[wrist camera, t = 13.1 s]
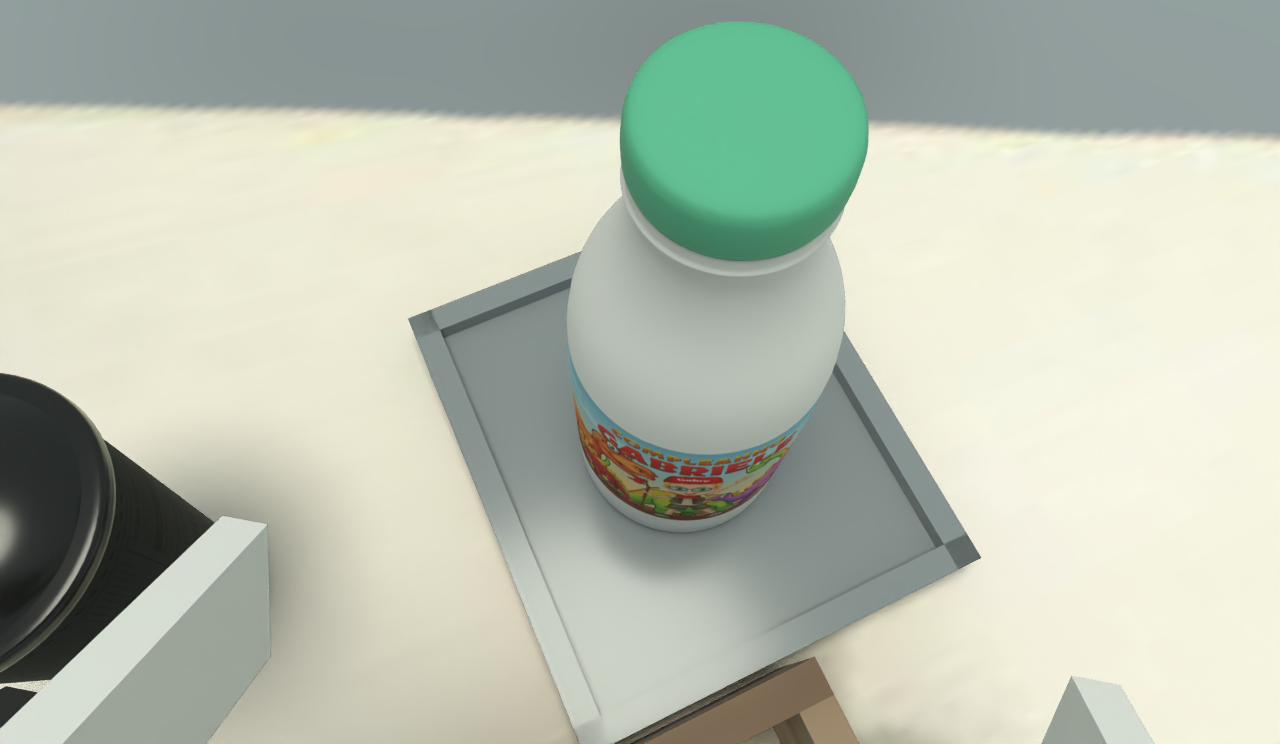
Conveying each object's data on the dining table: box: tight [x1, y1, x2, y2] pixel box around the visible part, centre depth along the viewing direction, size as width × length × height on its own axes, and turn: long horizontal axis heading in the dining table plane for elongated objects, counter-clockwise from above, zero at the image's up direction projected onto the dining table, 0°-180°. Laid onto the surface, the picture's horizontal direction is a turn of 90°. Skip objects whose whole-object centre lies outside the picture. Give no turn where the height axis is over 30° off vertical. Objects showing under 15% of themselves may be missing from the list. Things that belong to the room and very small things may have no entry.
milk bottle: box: [567, 21, 868, 532], centre depth 25 cm, size 8×8×20 cm
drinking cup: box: [0, 373, 214, 684], centre depth 23 cm, size 8×8×20 cm
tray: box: [408, 251, 981, 744], centre depth 34 cm, size 18×16×2 cm
